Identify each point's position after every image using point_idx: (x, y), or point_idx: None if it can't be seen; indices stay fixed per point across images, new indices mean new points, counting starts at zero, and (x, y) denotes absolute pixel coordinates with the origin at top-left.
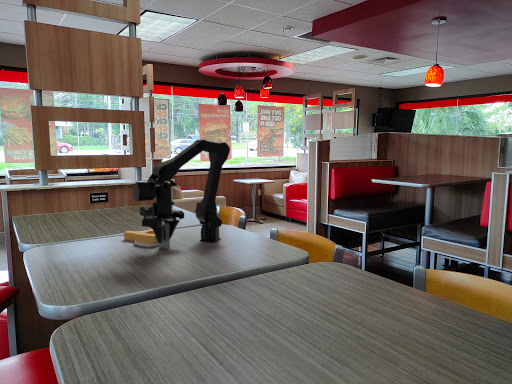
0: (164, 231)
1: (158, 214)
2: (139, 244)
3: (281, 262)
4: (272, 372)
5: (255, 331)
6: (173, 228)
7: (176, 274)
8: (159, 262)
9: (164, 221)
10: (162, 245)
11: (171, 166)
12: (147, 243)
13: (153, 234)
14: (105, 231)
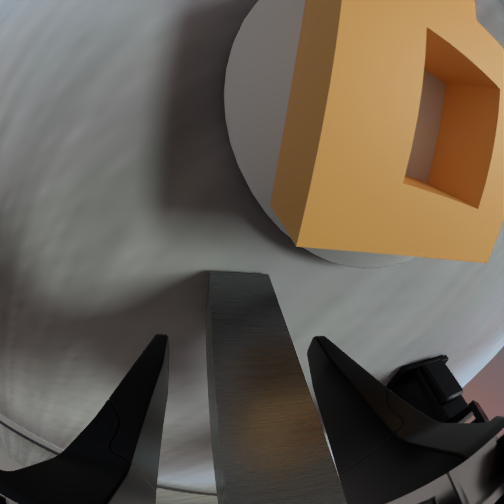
0: (214, 459)
1: None
2: (235, 38)
3: None
4: (2, 451)
5: (20, 457)
6: (334, 459)
7: (22, 414)
8: (28, 365)
9: (437, 464)
10: (207, 321)
11: None
12: (273, 116)
13: (391, 181)
14: None
